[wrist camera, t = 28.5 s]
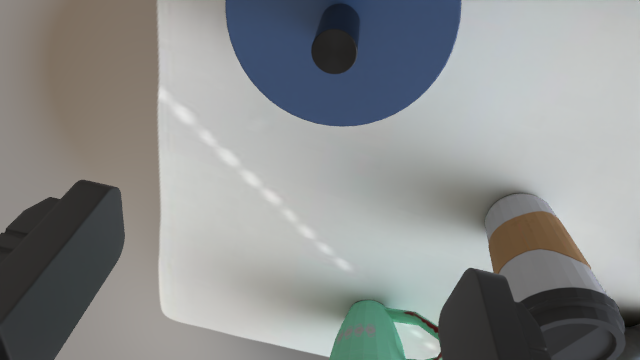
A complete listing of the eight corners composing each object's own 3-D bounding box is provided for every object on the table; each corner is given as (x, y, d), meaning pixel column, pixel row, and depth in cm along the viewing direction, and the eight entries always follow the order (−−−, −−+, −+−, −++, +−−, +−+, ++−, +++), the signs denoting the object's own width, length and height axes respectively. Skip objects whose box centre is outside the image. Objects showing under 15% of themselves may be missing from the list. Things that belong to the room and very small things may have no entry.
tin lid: (241, -150, 22) (203, -154, 17) (500, -82, 22) (535, -69, 17) (222, 93, 30) (193, 137, 25) (412, 138, 30) (420, 188, 25)
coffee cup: (456, 225, 45) (487, 356, 33) (511, 169, 41) (569, 297, 29) (520, 255, 47) (570, 389, 35) (580, 204, 42) (662, 340, 30)
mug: (350, 340, 59) (346, 414, 51) (317, 297, 55) (308, 372, 47) (455, 318, 54) (469, 396, 46) (428, 268, 50) (440, 346, 42)
